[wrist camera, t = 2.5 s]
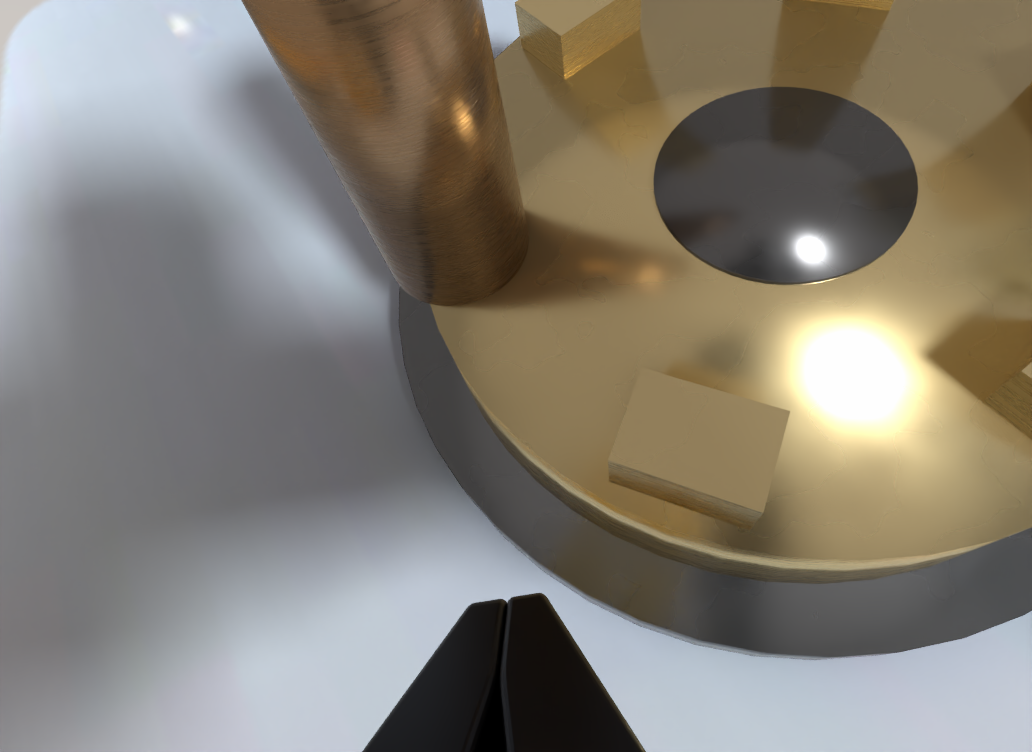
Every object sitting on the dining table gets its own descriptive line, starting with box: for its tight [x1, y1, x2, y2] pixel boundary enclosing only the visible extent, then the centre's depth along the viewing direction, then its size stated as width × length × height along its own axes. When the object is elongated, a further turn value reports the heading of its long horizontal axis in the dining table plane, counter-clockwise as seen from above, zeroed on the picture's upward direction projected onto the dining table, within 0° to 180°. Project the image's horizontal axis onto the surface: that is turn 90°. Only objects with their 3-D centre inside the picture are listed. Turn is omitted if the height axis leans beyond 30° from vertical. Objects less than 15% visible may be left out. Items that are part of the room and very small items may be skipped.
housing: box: [399, 287, 1032, 660], centre depth 20 cm, size 21×24×2 cm
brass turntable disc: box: [242, 0, 1032, 584], centre depth 13 cm, size 19×18×14 cm
